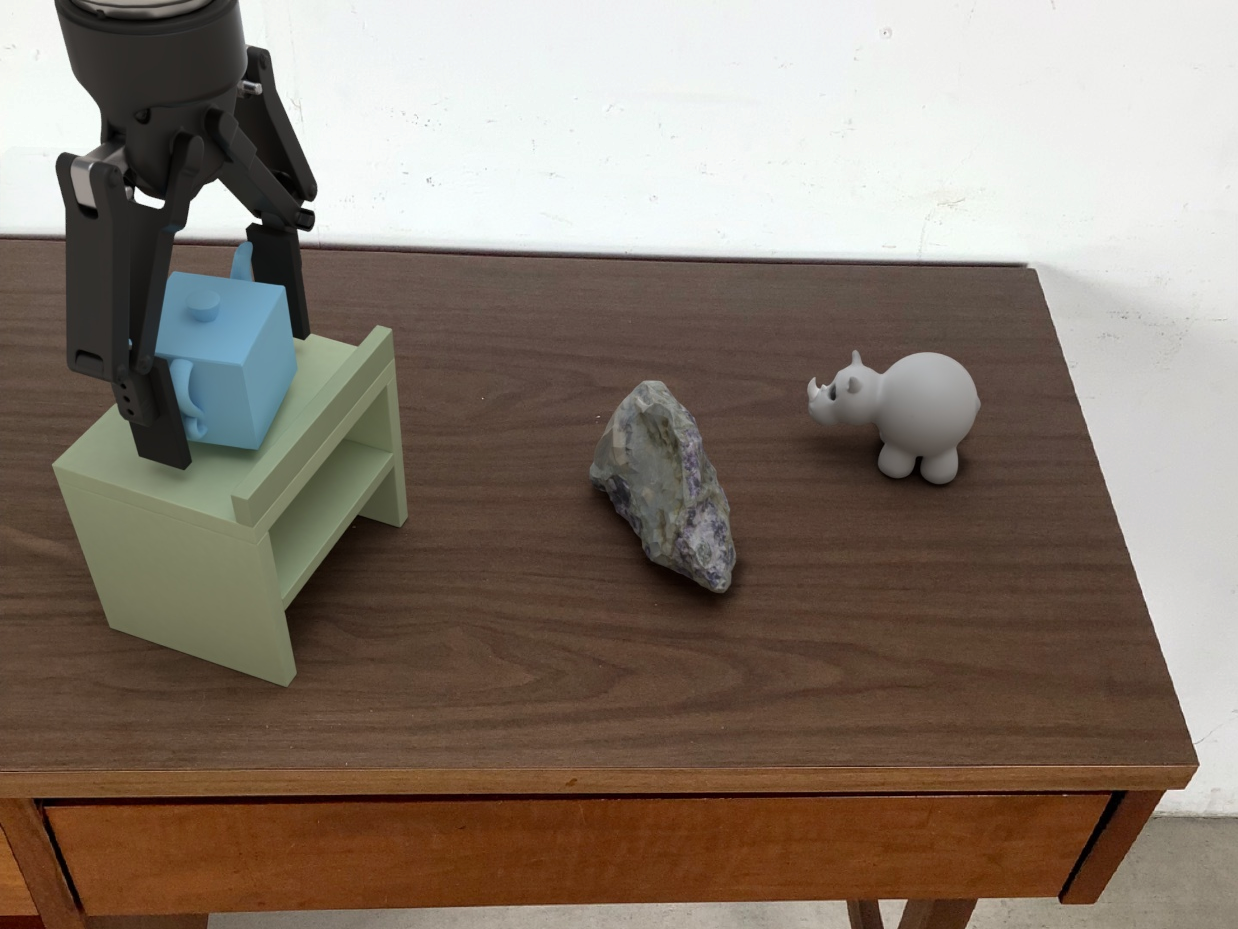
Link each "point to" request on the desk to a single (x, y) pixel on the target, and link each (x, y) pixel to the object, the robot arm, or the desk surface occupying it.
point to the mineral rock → (666, 486)
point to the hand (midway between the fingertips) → (229, 392)
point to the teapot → (227, 352)
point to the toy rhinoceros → (904, 410)
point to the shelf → (240, 510)
